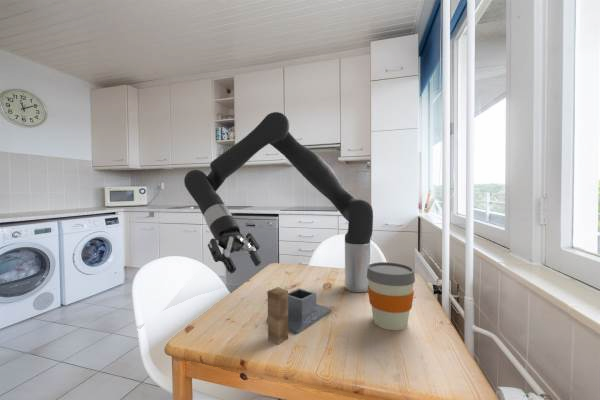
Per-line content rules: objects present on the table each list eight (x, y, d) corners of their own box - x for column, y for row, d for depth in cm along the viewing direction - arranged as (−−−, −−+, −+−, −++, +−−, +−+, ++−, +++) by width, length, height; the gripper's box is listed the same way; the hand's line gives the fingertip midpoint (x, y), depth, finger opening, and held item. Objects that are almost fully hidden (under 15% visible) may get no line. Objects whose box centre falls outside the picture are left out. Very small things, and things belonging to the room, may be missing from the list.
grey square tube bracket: (302, 302, 87) (302, 282, 87) (331, 311, 80) (331, 290, 80) (267, 321, 75) (266, 298, 75) (297, 334, 68) (297, 308, 68)
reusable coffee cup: (359, 325, 72) (359, 270, 72) (375, 308, 82) (375, 259, 82) (409, 339, 65) (409, 278, 64) (419, 318, 75) (419, 266, 75)
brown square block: (278, 333, 68) (277, 287, 68) (288, 338, 66) (287, 290, 65) (268, 339, 65) (267, 291, 65) (278, 344, 63) (277, 294, 63)
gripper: (204, 216, 72) (230, 265, 65) (246, 212, 83) (272, 254, 76) (194, 233, 76) (218, 282, 69) (235, 228, 87) (260, 269, 80)
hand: (246, 267), depth 72 cm, fingers open, 8 cm apart
